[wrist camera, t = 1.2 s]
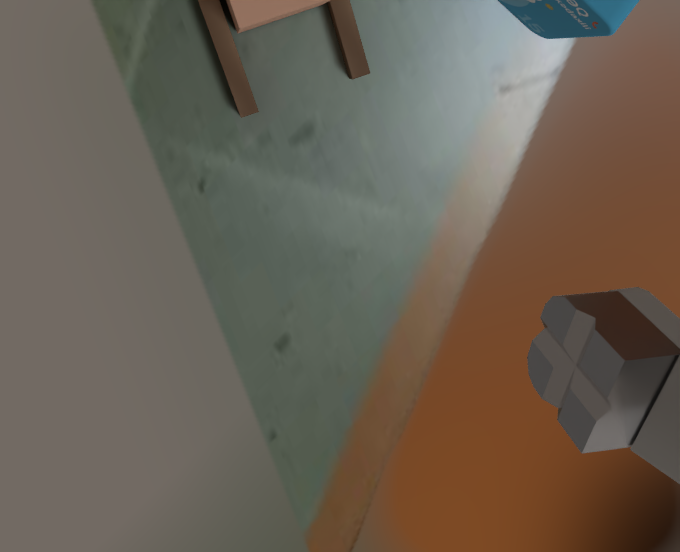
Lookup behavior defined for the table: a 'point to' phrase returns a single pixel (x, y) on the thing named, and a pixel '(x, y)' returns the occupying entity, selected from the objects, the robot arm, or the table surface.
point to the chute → (232, 62)
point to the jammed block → (266, 11)
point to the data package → (571, 16)
